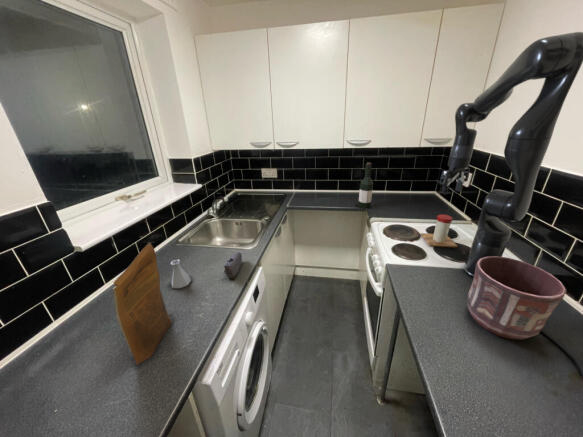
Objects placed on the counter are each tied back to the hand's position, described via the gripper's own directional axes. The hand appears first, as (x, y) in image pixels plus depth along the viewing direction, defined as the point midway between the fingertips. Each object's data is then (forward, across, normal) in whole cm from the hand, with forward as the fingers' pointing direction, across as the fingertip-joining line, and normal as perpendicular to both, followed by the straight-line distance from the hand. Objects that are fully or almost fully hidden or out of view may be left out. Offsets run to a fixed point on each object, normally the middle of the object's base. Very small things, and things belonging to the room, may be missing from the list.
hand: (450, 192), depth 103 cm
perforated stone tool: (+25, +97, -16) cm, 102 cm away
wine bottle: (+25, +4, -54) cm, 60 cm away
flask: (+25, +119, -16) cm, 122 cm away
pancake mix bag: (+25, +124, +8) cm, 127 cm away
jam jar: (+24, 0, 0) cm, 24 cm away
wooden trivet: (+25, 0, 0) cm, 25 cm away
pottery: (+25, +28, +42) cm, 56 cm away
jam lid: (+12, 0, 0) cm, 13 cm away
